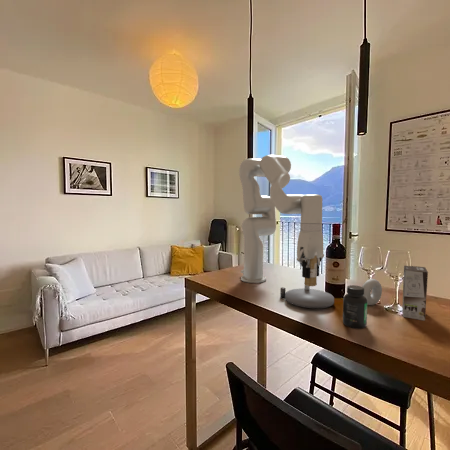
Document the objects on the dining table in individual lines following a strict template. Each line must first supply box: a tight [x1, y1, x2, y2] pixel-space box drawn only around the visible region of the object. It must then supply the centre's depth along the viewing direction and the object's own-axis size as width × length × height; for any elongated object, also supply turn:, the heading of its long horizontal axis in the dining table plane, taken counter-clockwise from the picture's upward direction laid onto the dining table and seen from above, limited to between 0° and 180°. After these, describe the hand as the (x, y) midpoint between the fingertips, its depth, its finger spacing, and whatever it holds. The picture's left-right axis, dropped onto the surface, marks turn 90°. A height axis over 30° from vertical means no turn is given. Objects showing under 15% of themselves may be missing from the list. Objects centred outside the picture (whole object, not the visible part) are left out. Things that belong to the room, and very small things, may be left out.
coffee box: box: [401, 265, 429, 321], centre depth 94 cm, size 9×6×16 cm
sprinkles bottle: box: [304, 252, 318, 287], centre depth 103 cm, size 5×5×13 cm
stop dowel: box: [279, 287, 287, 300], centre depth 112 cm, size 2×2×4 cm
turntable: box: [284, 284, 335, 309], centre depth 107 cm, size 20×18×6 cm
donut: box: [361, 278, 383, 306], centre depth 103 cm, size 10×4×10 cm, turn 117°
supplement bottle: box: [342, 284, 368, 330], centre depth 87 cm, size 7×7×12 cm
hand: (310, 276), depth 103 cm, fingers closed on sprinkles bottle, 4 cm apart
